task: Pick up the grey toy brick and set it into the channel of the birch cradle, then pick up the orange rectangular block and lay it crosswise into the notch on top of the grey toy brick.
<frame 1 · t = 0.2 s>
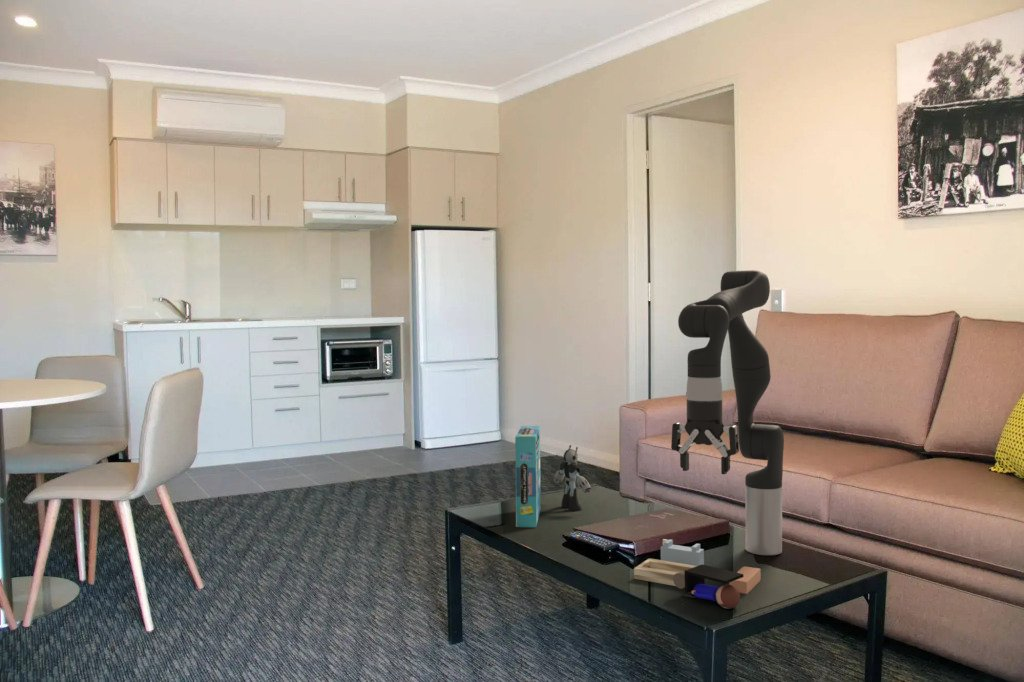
hand: (704, 472, 182), 29 cm above the table, tool pointing down, fingers open, 8 cm apart
orange rectangular block: (745, 586, 194), on the table
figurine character: (708, 602, 184), on the table
grey toy brick: (682, 565, 209), on the table
robot: (571, 508, 269), on the table
game box: (528, 519, 257), on the table
cradle: (669, 578, 200), on the table
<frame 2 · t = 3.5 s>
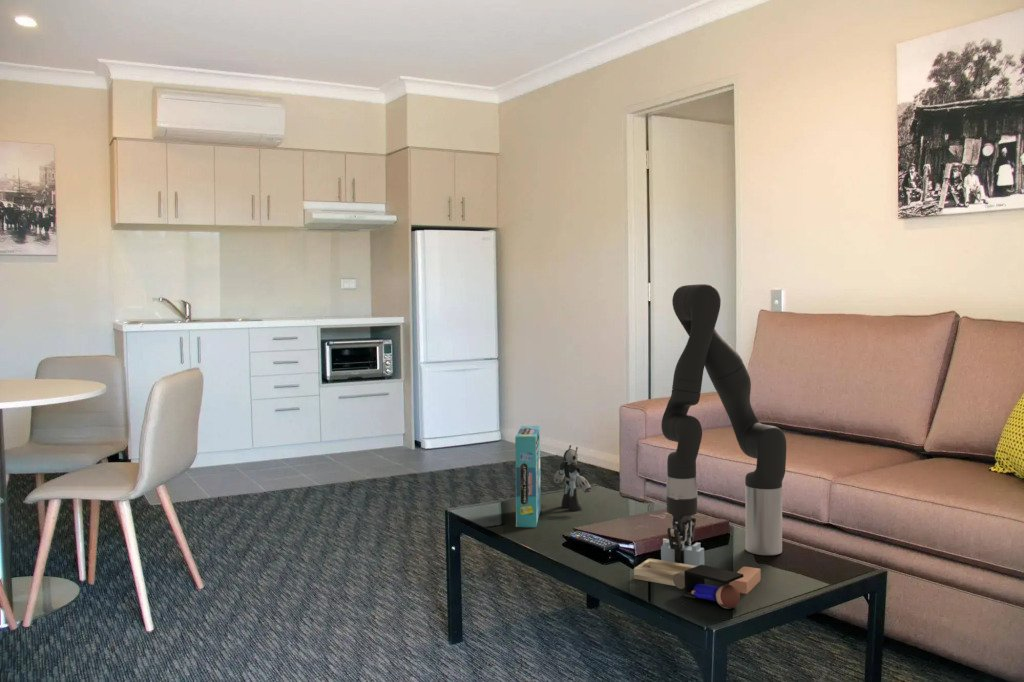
hand: (682, 562, 209), 1 cm above the table, tool pointing down, fingers closed on grey toy brick, 3 cm apart
grey toy brick: (682, 565, 209), on the table, touching gripper
everything else where it was.
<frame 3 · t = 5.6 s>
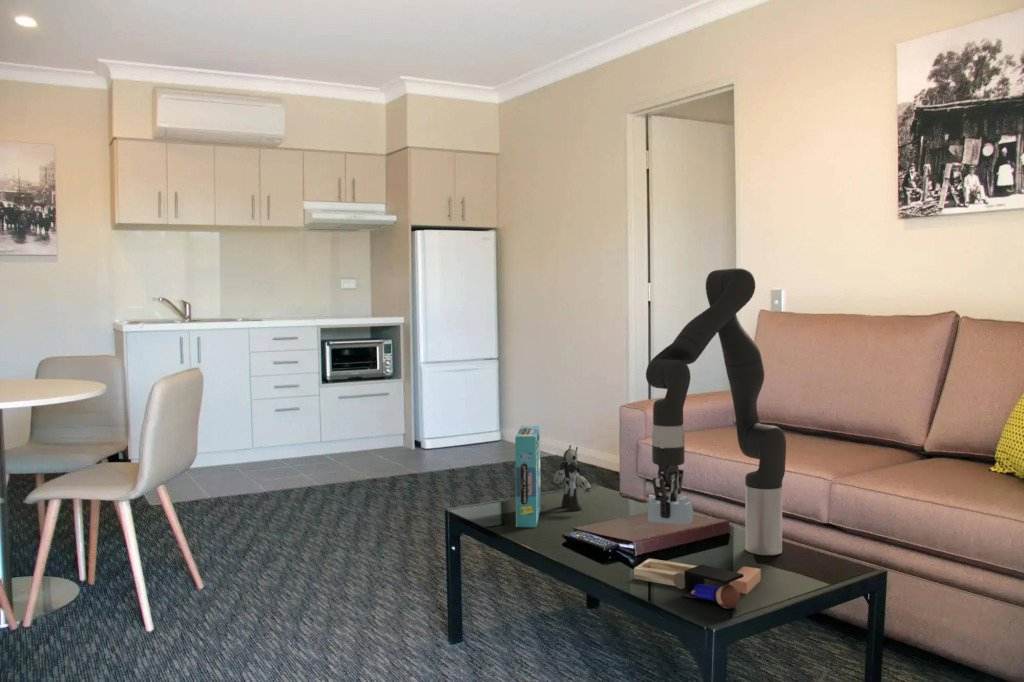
hand: (668, 515, 199), 15 cm above the table, tool pointing down, fingers closed on grey toy brick, 3 cm apart
grey toy brick: (670, 521, 199), point 14 cm above the table, touching gripper
everything else where it was.
when the fingers open (3 cm above the table, at t = 8.0 s): grey toy brick stays where it is, resting on cradle.
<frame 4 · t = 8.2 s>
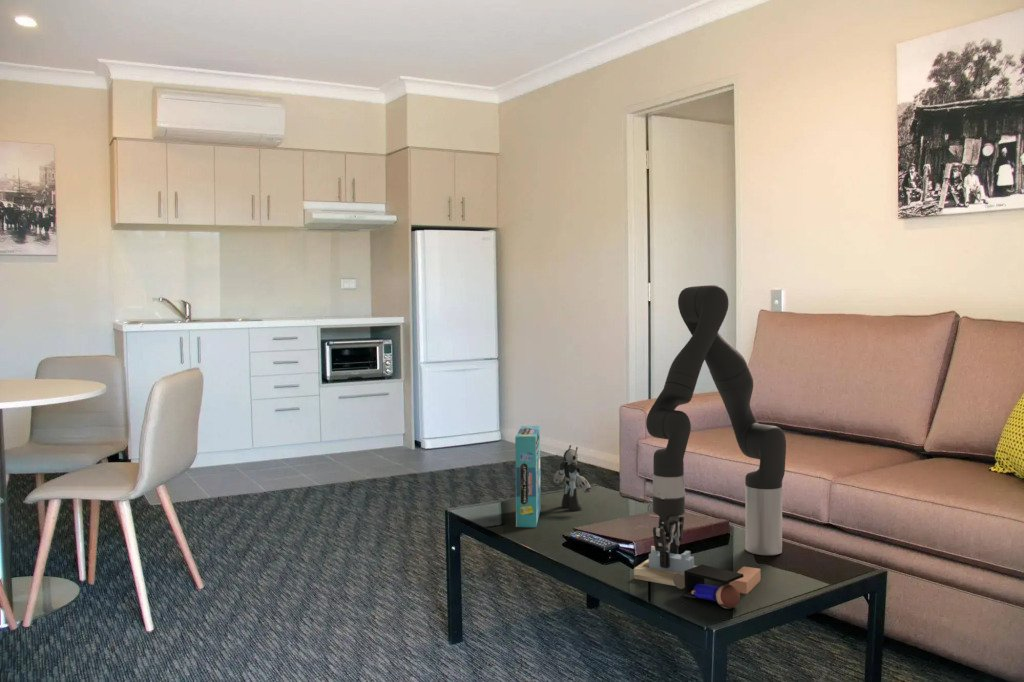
hand: (669, 564, 199), 3 cm above the table, tool pointing down, fingers open, 4 cm apart
grey toy brick: (671, 574, 199), point 1 cm above the table, touching cradle
everything else where it was.
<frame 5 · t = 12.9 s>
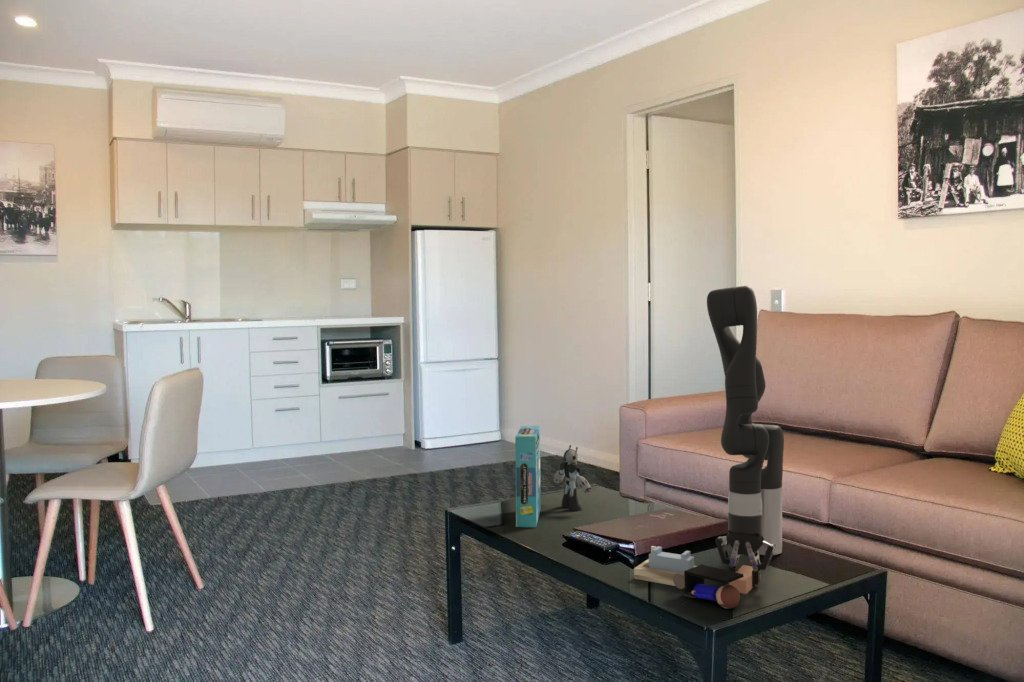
hand: (745, 583, 194), 0 cm above the table, tool pointing down, fingers closed on orange rectangular block, 4 cm apart
orange rectangular block: (744, 585, 194), on the table, touching gripper
everything else where it was.
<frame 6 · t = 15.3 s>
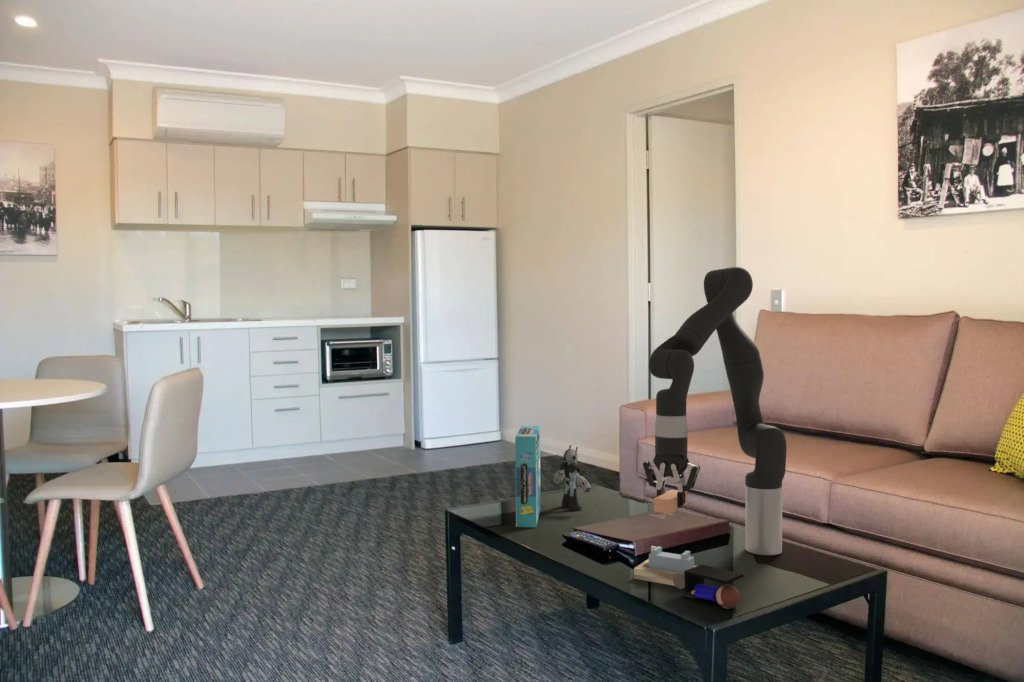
hand: (671, 505, 198), 17 cm above the table, tool pointing down, fingers closed on orange rectangular block, 4 cm apart
orange rectangular block: (670, 507, 198), point 17 cm above the table, touching gripper
everything else where it was.
when the fingers open (7 cm above the table, at t = 18.1 s): orange rectangular block drops 1 cm, resting on grey toy brick.
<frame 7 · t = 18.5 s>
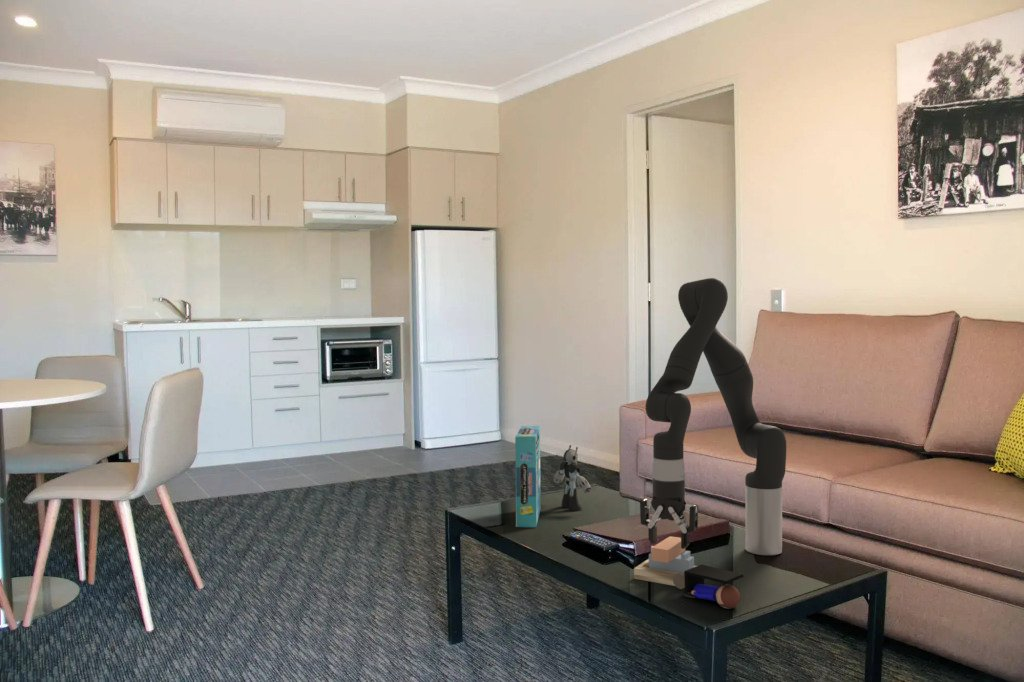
hand: (668, 545, 199), 8 cm above the table, tool pointing down, fingers open, 7 cm apart
orange rectangular block: (668, 555, 199), point 5 cm above the table, touching grey toy brick
grey toy brick: (671, 574, 199), point 1 cm above the table, touching cradle, orange rectangular block
everything else where it was.
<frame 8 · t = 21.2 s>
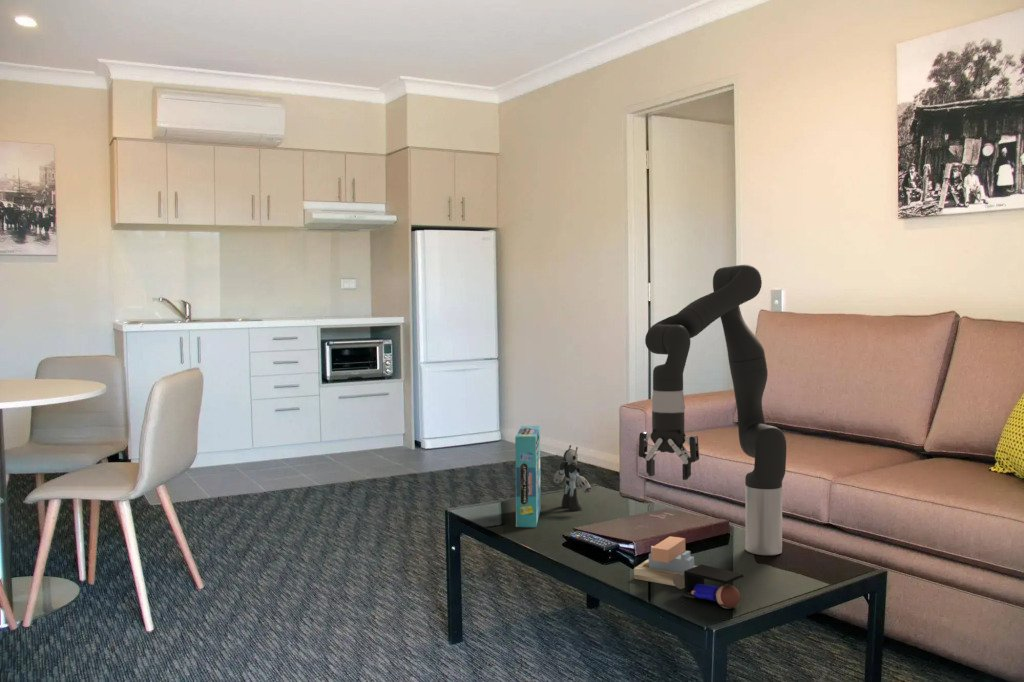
hand: (668, 477, 199), 24 cm above the table, tool pointing down, fingers open, 8 cm apart
nothing on the table moved.
at the end: grey toy brick 0.5 cm off-centre on the cradle, point 1.0 cm above the cradle's base; orange rectangular block 0.5 cm off-centre on the grey toy brick, point 4.5 cm above the grey toy brick's base; the gripper is holding nothing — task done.
